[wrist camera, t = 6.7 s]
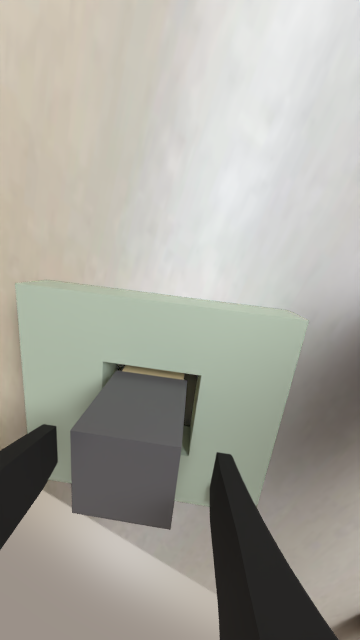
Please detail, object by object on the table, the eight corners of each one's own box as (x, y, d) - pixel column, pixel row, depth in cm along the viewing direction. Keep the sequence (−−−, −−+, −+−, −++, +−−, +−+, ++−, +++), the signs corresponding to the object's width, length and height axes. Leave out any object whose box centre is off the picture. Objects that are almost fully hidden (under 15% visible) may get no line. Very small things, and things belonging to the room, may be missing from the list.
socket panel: (287, 310, 13) (316, 324, 10) (245, 477, 16) (257, 527, 13) (47, 279, 13) (3, 284, 10) (54, 446, 17) (22, 487, 14)
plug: (188, 360, 14) (181, 447, 7) (182, 411, 15) (170, 529, 8) (129, 352, 14) (70, 430, 8) (127, 403, 15) (72, 512, 9)
